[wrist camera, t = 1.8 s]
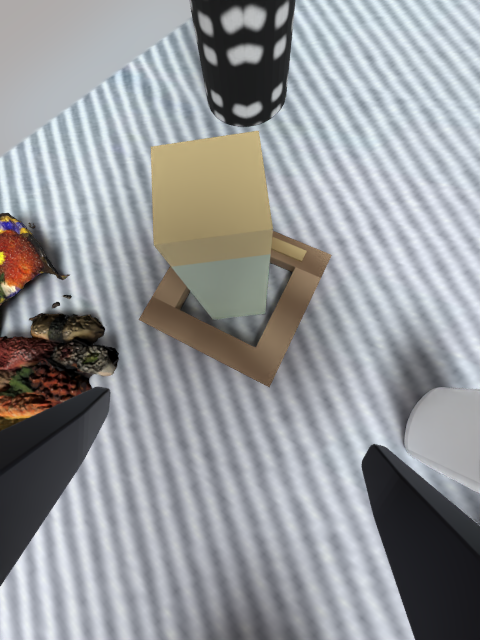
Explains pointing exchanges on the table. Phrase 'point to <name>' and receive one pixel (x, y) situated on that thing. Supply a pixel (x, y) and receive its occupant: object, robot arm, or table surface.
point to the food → (43, 338)
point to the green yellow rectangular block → (215, 220)
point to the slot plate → (279, 329)
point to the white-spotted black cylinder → (244, 56)
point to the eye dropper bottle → (447, 434)
